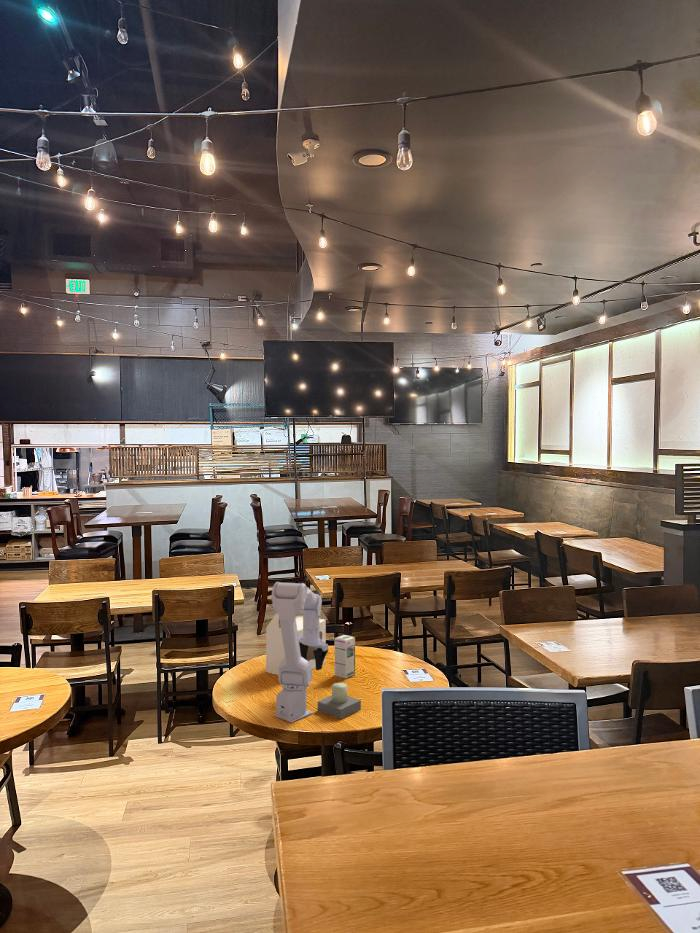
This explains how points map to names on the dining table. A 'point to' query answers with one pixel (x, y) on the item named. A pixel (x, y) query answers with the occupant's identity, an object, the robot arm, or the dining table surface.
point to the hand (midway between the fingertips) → (311, 667)
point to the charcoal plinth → (339, 707)
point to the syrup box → (344, 656)
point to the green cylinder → (339, 693)
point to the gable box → (277, 648)
